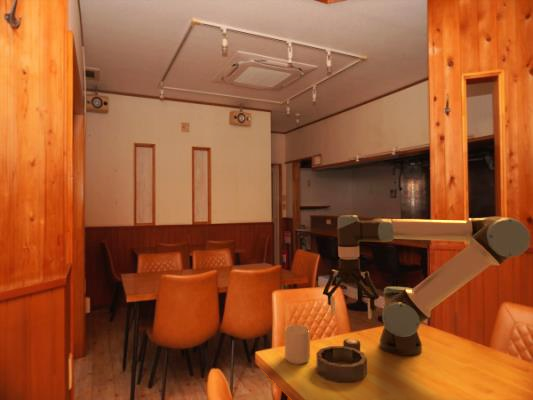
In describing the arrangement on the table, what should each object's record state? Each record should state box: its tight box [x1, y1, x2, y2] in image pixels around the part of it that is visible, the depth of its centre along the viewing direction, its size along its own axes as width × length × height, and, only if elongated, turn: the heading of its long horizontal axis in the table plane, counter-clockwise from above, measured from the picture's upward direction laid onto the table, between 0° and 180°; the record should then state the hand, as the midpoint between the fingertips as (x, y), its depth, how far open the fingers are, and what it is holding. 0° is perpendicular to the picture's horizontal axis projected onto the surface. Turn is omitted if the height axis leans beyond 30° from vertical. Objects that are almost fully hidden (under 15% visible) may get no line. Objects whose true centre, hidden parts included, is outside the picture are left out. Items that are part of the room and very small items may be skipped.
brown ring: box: [315, 345, 368, 384], centre depth 121 cm, size 16×16×5 cm
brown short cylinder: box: [342, 338, 361, 351], centre depth 133 cm, size 6×6×5 cm
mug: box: [284, 324, 311, 365], centre depth 132 cm, size 12×9×11 cm
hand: (351, 316), depth 133 cm, fingers open, 13 cm apart
